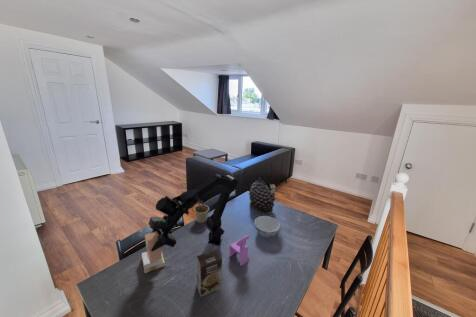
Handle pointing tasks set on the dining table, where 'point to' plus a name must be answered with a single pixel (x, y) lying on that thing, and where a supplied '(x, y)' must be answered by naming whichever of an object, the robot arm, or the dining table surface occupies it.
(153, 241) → the pillar
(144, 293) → the dining table surface
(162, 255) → the bottom slab
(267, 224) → the chinaware
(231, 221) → the dining table surface
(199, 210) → the flower pot
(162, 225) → the robot arm
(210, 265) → the coffee box
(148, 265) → the top slab
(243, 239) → the toy chair
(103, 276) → the dining table surface
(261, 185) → the dark pinecone ornament
